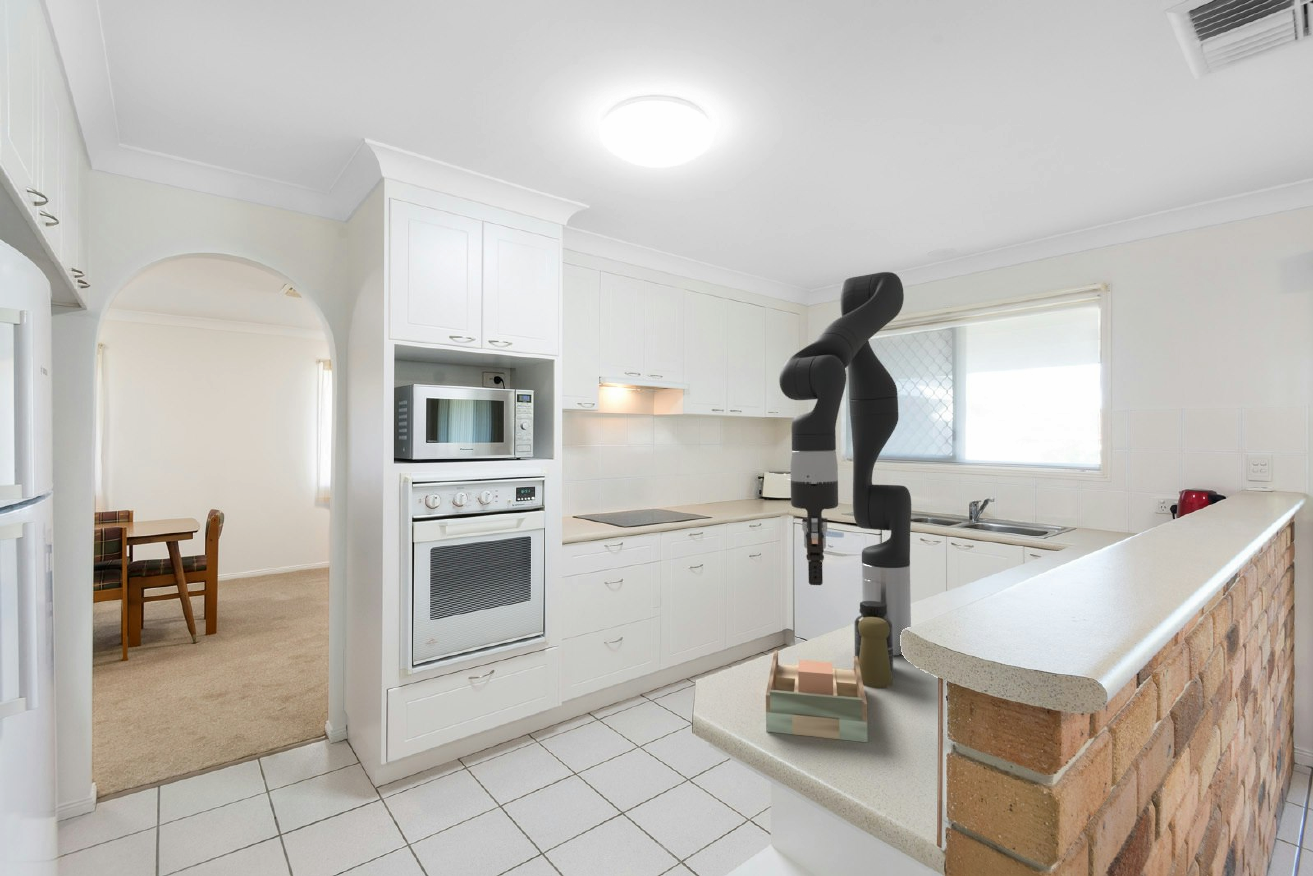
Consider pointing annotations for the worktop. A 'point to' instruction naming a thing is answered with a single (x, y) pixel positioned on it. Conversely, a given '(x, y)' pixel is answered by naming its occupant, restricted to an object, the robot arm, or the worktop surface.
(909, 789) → the worktop surface
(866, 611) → the supplement bottle
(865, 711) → the wooden organizer box
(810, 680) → the block
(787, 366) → the robot arm
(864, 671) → the cork
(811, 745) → the worktop surface
